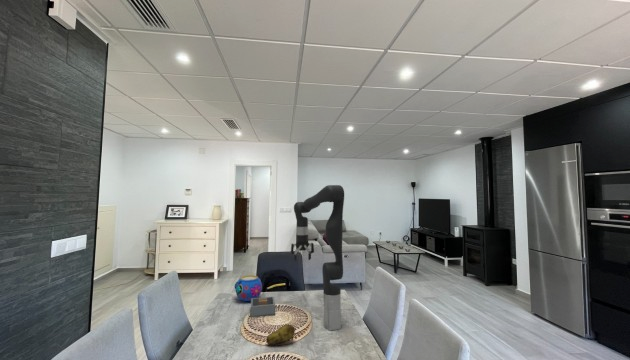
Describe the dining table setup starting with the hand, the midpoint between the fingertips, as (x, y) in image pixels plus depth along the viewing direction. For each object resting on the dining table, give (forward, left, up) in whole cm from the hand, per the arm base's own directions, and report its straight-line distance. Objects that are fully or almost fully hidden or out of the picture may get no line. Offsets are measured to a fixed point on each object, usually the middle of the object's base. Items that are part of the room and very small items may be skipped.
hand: (302, 260), depth 164 cm
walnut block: (+4, +24, -29) cm, 38 cm away
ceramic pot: (+26, +33, -30) cm, 52 cm away
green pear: (-35, +16, -30) cm, 49 cm away
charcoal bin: (+4, +24, -30) cm, 39 cm away
